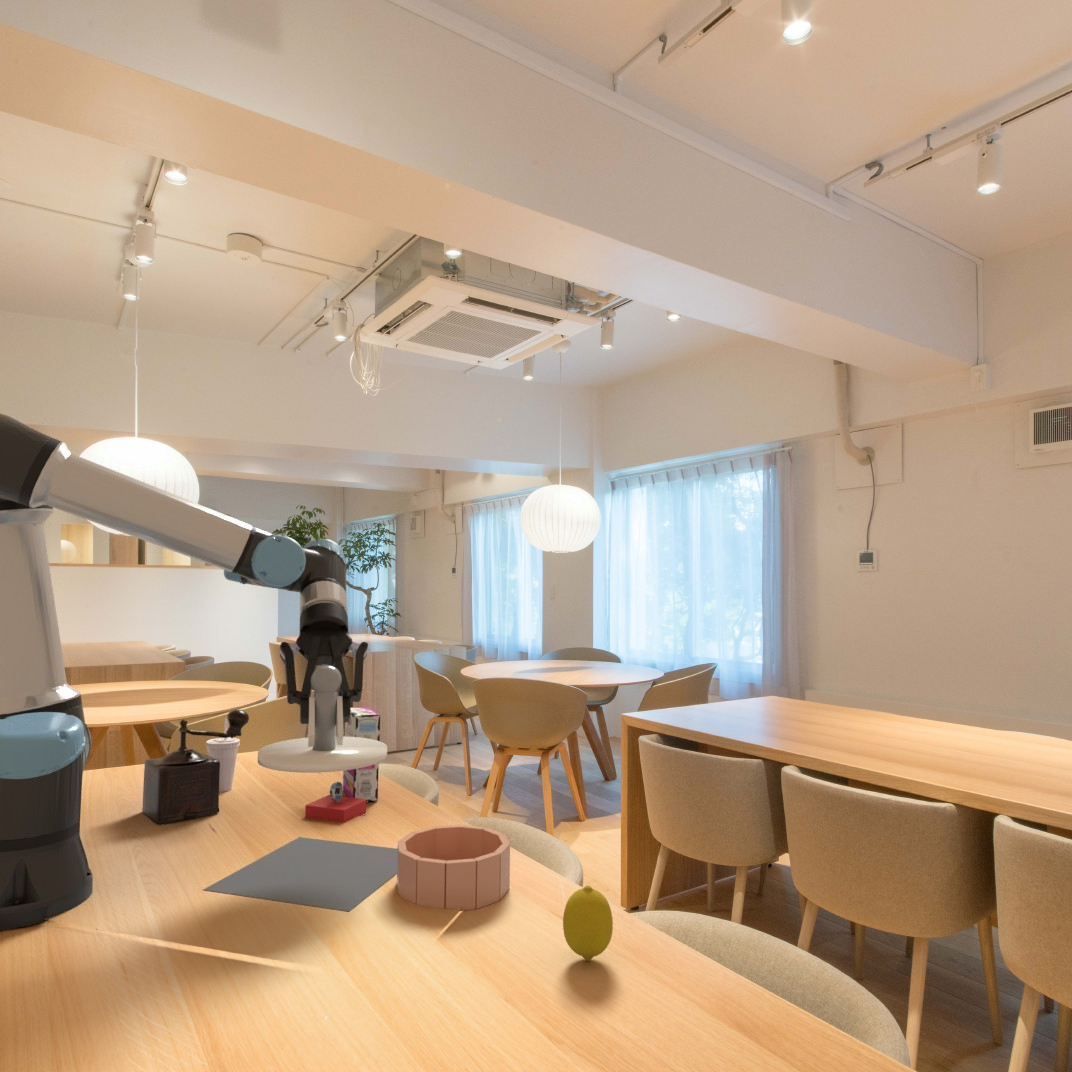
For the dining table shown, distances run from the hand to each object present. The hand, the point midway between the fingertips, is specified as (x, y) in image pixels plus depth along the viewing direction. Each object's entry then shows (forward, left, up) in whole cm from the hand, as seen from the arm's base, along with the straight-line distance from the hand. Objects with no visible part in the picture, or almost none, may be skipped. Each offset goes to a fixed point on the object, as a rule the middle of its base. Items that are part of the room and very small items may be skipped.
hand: (325, 740), depth 106 cm
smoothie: (+35, +45, -20) cm, 61 cm away
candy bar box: (+40, +17, -20) cm, 48 cm away
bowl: (+4, -18, -20) cm, 27 cm away
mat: (+3, +2, -20) cm, 20 cm away
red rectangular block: (+27, +14, -20) cm, 36 cm away
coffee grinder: (+22, +40, -20) cm, 50 cm away
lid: (+3, +2, -3) cm, 5 cm away
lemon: (-10, -40, -20) cm, 46 cm away
